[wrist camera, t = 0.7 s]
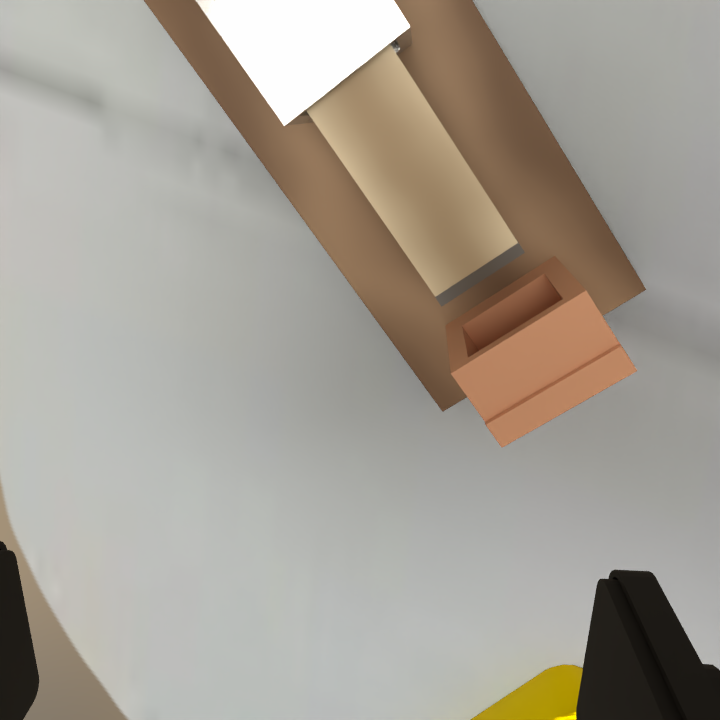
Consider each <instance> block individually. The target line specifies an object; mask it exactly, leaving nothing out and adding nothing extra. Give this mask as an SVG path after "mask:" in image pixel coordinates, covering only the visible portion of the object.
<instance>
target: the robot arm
mask: <svg viewBox="0 0 720 720" xmlns="http://www.w3.org/2000/svg"><path fill="white" fill-rule="evenodd" d="M38 686H39V675H38V670H37V664H36V659H35V654H34V649H33V643H32V639H31V633H30V628H29V622H28V617H27V612H26V607H25V602H24V596H23V591H22V586H21V581H20V575H19V570H18V565H17V560H16V556H15V554H14V552H13V551H10V550H7V548H6V545H5V544H4V543H3V542H1V541H0V720H23V719H24V717H25V715H26V713H27V712H28V710H29V708H30V707H31V705H32V704H33V702H34V700H35V697H36V695H37V691H38ZM576 720H720V670H719V669H718V668H716V667H715V666H713V665H709V664H702V662H701V660H700V659H699V657H698V655H697V653H696V651H695V649H694V648H693V646H692V644H691V642H690V640H689V638H688V636H687V635H686V633H685V631H684V629H683V627H682V625H681V624H680V622H679V620H678V618H677V616H676V614H675V612H674V611H673V609H672V607H671V605H670V603H669V601H668V600H667V598H666V596H665V594H664V592H663V590H662V588H661V587H660V585H659V583H658V581H657V579H656V577H655V576H654V575H653V573H651V572H649V571H629V570H613V571H612V572H611V573H610V575H609V579H600V580H599V581H598V584H597V588H596V594H595V600H594V606H593V612H592V618H591V624H590V630H589V636H588V642H587V647H586V653H585V659H584V665H583V671H582V677H581V683H580V689H579V695H578V701H577V707H576Z"/></svg>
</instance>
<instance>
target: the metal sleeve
mask: <svg viewBox="0 0 720 720" xmlns="http://www.w3.org/2000/svg"><path fill="white" fill-rule="evenodd" d="M196 2H197V3H198V4H199V6H200V7H201V9H202V10H203V12H204V13H205V14H206V16H207V17H208V19H209V20H210V21H211V23H212V24H213V26H214V27H215V29H216V30H217V31H218V33H219V34H220V36H221V37H222V38H223V40H224V41H225V43H226V44H227V46H228V47H229V48H230V50H231V51H232V53H233V54H234V55H235V57H236V58H237V60H238V61H239V63H240V64H241V65H242V67H243V68H244V70H245V71H246V72H247V74H248V75H249V77H250V78H251V79H252V81H253V82H254V84H255V85H256V87H257V88H258V89H259V91H260V92H261V94H262V95H263V96H264V98H265V99H266V101H267V102H268V104H269V105H270V106H271V108H272V109H273V111H274V112H275V113H276V115H277V116H278V118H279V119H280V121H281V122H282V123H283V125H284V126H287V125H296V124H304V123H312V122H313V120H312V118H311V117H310V115H309V114H308V112H307V111H306V110H308V109H309V108H310V107H311V106H313V105H314V104H315V103H316V102H318V101H319V100H320V99H322V98H323V97H324V96H325V95H327V94H328V93H329V92H330V91H332V90H333V89H334V88H335V87H337V86H338V85H339V84H341V83H342V82H343V81H344V80H346V79H347V78H348V77H349V76H351V75H352V74H353V73H355V72H356V71H357V70H358V69H360V68H361V67H362V66H363V65H365V64H366V63H367V62H368V61H370V60H371V59H372V58H374V57H375V56H376V55H377V54H379V53H380V52H381V51H382V50H384V49H385V48H386V47H388V46H389V45H391V46H392V48H393V49H394V51H395V52H396V54H397V55H399V54H400V53H401V52H403V51H404V50H405V49H406V48H408V47H409V46H410V45H412V44H413V43H412V36H411V28H410V25H409V24H408V22H407V21H406V19H405V17H404V16H403V14H402V13H401V11H400V10H399V8H398V6H397V5H396V3H395V2H394V0H196Z"/></svg>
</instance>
